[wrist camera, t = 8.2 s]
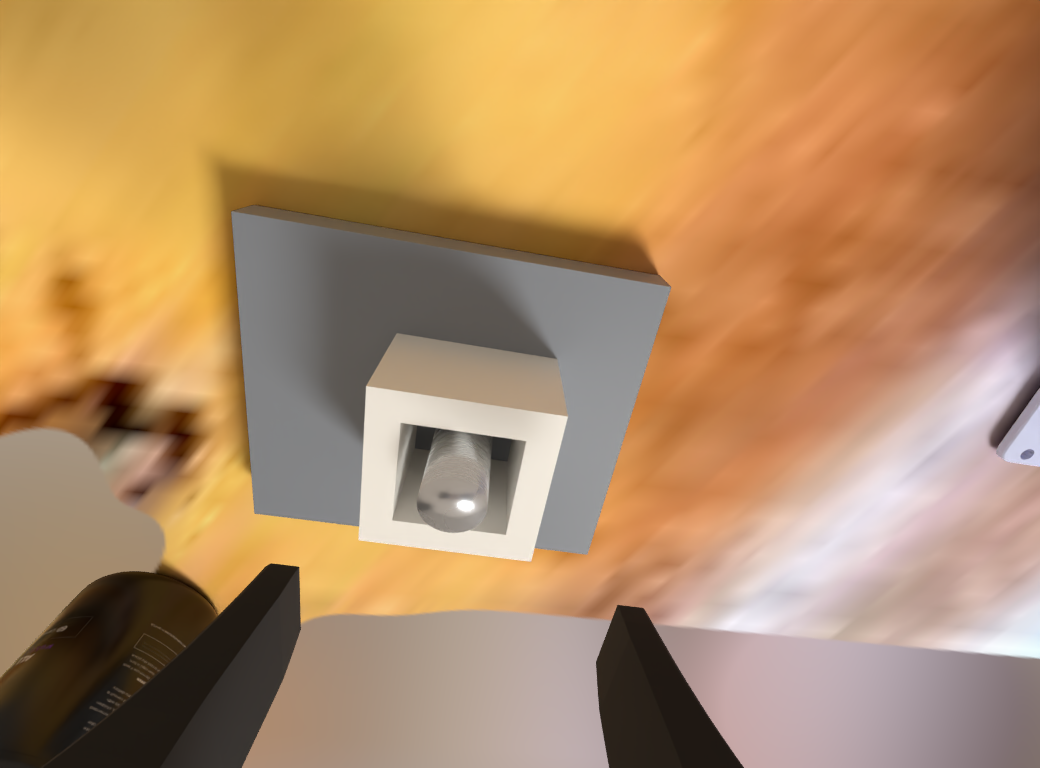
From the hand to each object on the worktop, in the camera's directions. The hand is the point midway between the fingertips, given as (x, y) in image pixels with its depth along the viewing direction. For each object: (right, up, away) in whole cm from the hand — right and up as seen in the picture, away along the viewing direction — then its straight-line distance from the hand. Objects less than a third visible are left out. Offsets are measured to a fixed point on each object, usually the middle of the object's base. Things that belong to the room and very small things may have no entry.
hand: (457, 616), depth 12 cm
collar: (0, +4, +7) cm, 8 cm away
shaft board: (-1, +5, +8) cm, 10 cm away
